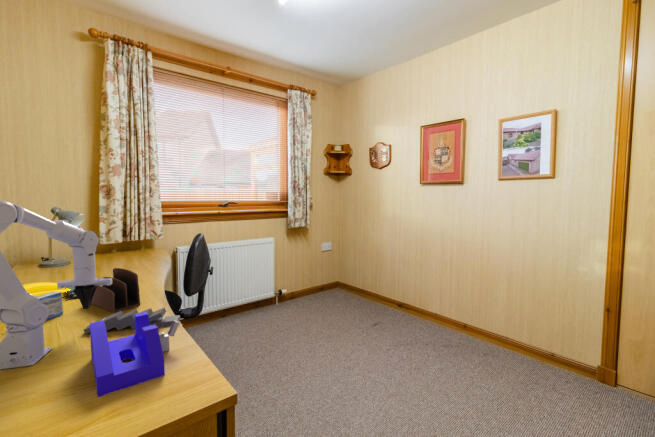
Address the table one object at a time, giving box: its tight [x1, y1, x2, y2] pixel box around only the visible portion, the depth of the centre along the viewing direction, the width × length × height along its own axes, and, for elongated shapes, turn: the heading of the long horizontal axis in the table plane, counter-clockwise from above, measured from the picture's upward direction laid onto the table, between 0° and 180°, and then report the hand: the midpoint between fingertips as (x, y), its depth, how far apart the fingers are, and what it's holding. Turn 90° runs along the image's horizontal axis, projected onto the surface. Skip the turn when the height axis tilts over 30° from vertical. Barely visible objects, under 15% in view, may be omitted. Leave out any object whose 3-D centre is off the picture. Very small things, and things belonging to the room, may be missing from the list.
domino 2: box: [106, 308, 139, 332], centre depth 106 cm, size 5×2×10 cm
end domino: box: [149, 314, 181, 328], centre depth 110 cm, size 5×2×10 cm
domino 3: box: [115, 307, 154, 331], centre depth 107 cm, size 5×2×10 cm
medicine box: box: [35, 291, 64, 322], centre depth 114 cm, size 8×4×9 cm, turn 168°
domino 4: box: [130, 307, 167, 330], centre depth 108 cm, size 5×2×10 cm
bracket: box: [89, 311, 166, 398], centre depth 82 cm, size 21×14×10 cm, turn 40°
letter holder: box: [91, 267, 141, 314], centre depth 128 cm, size 10×20×14 cm, turn 58°
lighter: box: [159, 320, 180, 352], centre depth 91 cm, size 7×2×8 cm, turn 129°
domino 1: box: [83, 311, 124, 335], centre depth 105 cm, size 5×2×10 cm
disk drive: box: [66, 287, 79, 300], centre depth 143 cm, size 10×3×15 cm
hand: (86, 308), depth 103 cm, fingers closed
